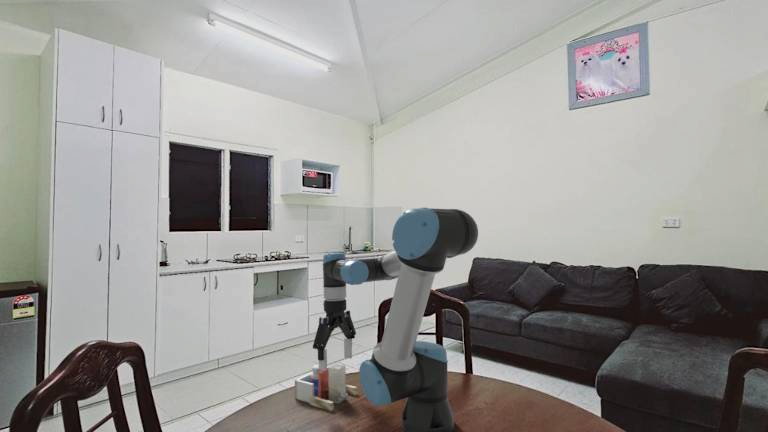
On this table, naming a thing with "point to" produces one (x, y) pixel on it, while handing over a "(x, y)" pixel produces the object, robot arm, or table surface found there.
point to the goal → (304, 388)
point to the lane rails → (329, 404)
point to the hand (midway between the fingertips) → (336, 363)
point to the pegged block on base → (333, 383)
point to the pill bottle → (315, 378)
